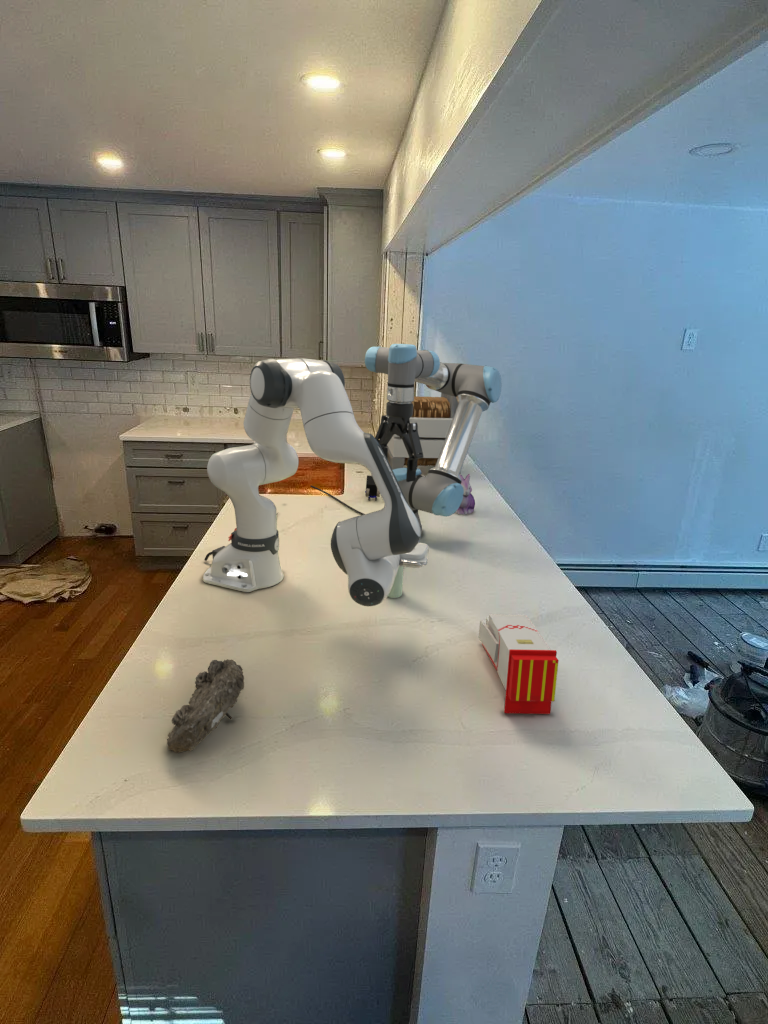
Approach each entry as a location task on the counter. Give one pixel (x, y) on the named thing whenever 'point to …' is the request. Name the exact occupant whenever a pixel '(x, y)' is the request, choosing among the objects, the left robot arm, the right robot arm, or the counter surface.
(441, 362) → the right robot arm
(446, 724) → the counter surface
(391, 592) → the pale green bottle
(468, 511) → the figurine
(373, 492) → the figurine character
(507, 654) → the toy
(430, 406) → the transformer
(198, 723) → the fossil
